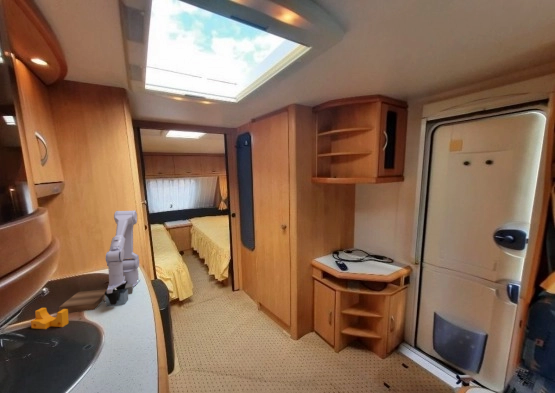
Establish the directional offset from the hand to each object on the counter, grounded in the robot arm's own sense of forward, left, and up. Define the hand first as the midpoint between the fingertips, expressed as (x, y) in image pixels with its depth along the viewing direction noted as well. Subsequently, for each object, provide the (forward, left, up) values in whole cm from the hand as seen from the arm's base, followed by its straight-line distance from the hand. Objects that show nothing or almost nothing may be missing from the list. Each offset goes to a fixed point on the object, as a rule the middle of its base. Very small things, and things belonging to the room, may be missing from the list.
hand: (117, 299), depth 111 cm
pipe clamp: (+13, -20, -2) cm, 24 cm away
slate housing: (0, 0, -2) cm, 2 cm away
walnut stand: (-3, -15, -2) cm, 15 cm away
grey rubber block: (-10, +1, -2) cm, 10 cm away
